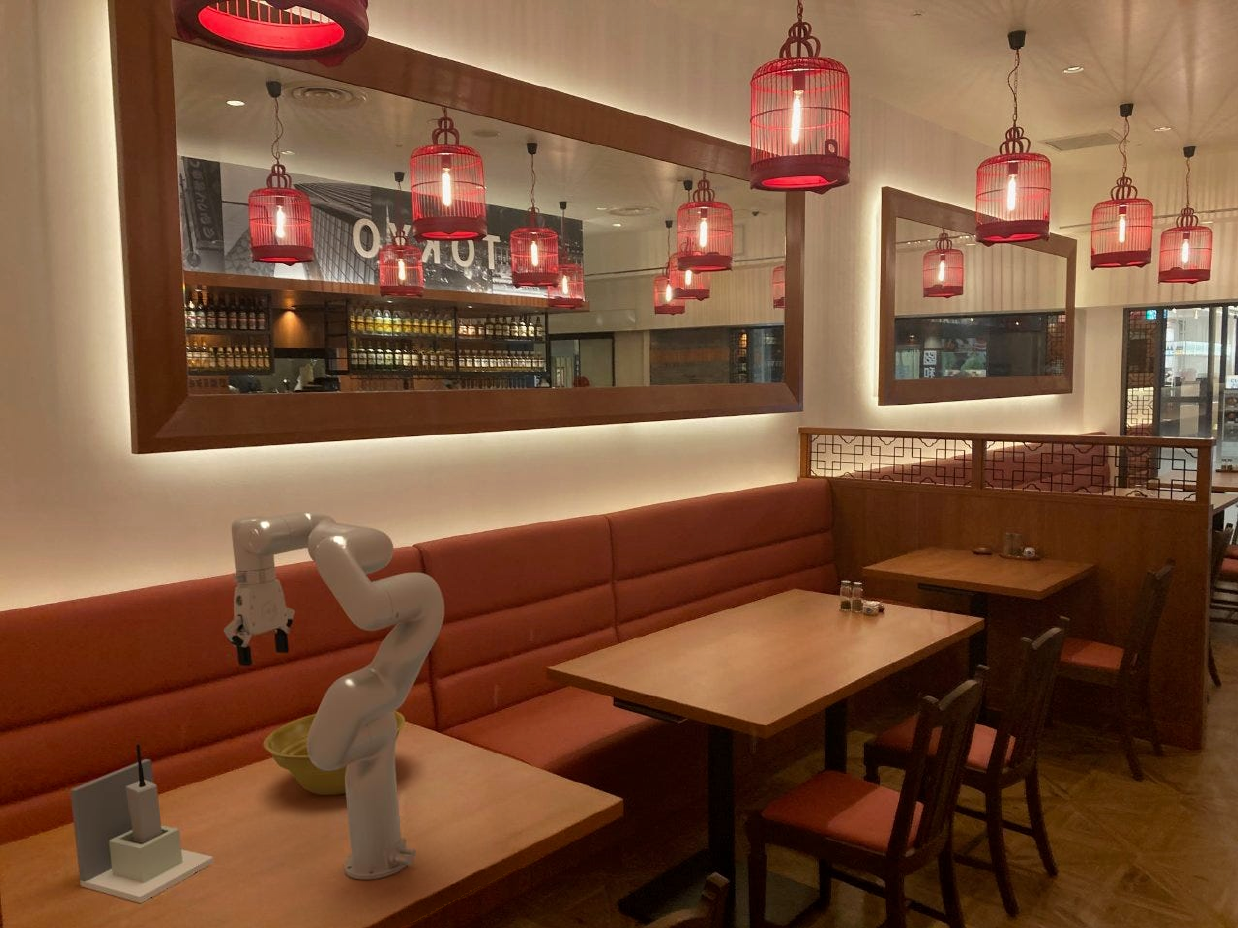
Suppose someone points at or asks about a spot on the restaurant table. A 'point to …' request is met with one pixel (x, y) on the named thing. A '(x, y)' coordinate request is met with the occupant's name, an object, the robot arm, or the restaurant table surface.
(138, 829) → the vintage mobile phone
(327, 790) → the planter bowl
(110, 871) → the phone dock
